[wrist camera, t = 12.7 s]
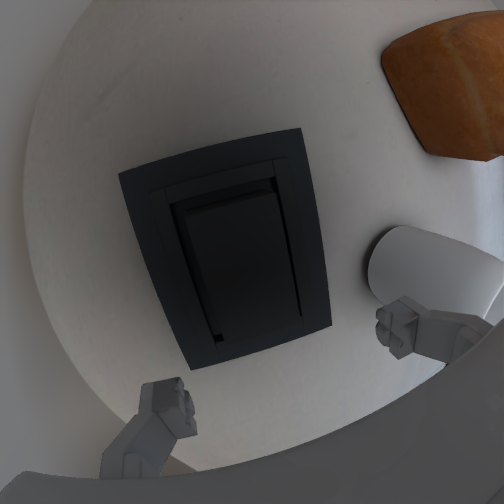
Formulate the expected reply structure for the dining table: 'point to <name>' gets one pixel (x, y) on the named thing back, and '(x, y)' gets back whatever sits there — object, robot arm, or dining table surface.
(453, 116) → the bread
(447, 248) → the cup
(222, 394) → the dining table surface
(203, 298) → the base pad
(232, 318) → the black pad
